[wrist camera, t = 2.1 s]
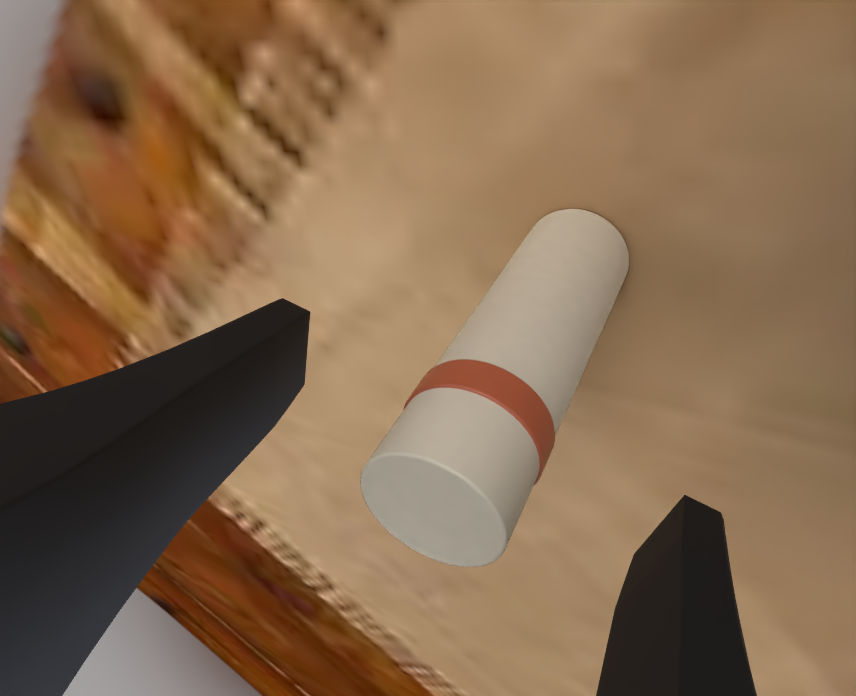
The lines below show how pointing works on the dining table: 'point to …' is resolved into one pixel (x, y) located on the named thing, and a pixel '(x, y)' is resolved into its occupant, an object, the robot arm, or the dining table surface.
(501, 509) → the dowel
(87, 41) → the dining table surface
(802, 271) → the dining table surface
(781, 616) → the dining table surface
